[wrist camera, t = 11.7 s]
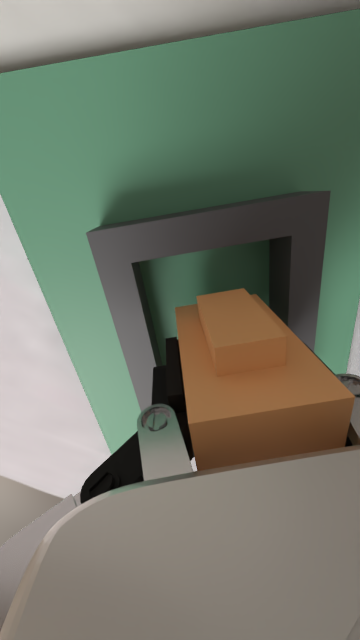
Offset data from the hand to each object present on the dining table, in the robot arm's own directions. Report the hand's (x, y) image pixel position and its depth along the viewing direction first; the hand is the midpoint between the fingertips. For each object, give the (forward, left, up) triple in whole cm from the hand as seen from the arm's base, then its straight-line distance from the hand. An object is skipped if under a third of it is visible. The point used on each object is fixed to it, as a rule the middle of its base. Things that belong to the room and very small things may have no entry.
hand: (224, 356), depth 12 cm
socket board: (-1, 0, -4) cm, 4 cm away
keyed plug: (0, 0, -1) cm, 1 cm away
